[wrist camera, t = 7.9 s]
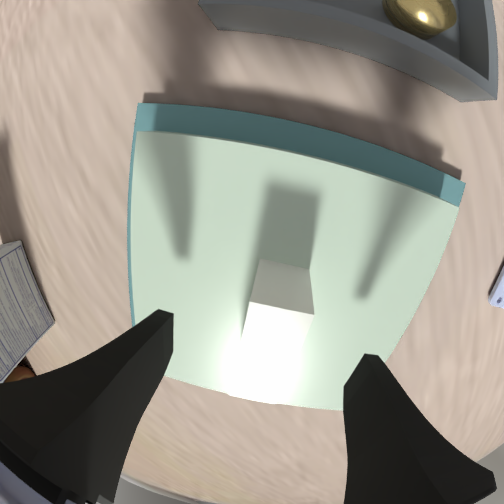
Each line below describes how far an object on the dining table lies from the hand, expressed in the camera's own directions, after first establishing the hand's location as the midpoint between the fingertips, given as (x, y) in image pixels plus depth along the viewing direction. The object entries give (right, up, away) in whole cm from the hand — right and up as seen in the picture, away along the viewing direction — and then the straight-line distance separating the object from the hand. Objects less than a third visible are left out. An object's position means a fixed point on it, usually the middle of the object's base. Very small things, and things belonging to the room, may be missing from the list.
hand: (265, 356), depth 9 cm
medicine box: (-20, +1, +8) cm, 22 cm away
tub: (+5, +18, -3) cm, 19 cm away
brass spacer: (+7, +15, -3) cm, 17 cm away
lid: (0, +1, +3) cm, 3 cm away
